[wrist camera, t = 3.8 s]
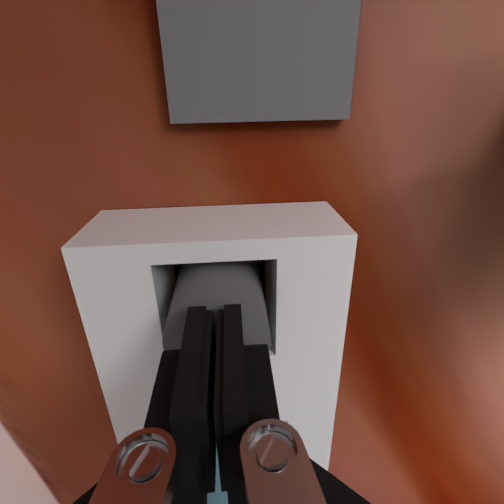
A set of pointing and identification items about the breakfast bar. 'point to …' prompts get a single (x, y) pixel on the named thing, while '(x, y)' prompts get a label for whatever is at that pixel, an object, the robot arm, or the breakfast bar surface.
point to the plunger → (219, 299)
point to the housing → (218, 250)
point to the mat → (258, 59)
